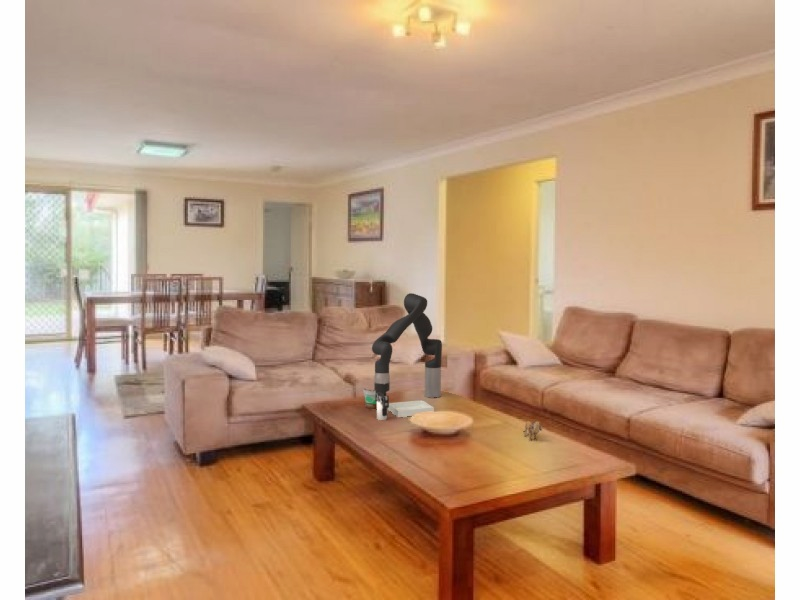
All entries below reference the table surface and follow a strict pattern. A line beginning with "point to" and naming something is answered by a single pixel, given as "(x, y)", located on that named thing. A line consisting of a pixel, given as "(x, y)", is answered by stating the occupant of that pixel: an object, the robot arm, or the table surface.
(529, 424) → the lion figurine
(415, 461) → the table surface
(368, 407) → the food container
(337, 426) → the table surface
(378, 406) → the cup
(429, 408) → the tray
